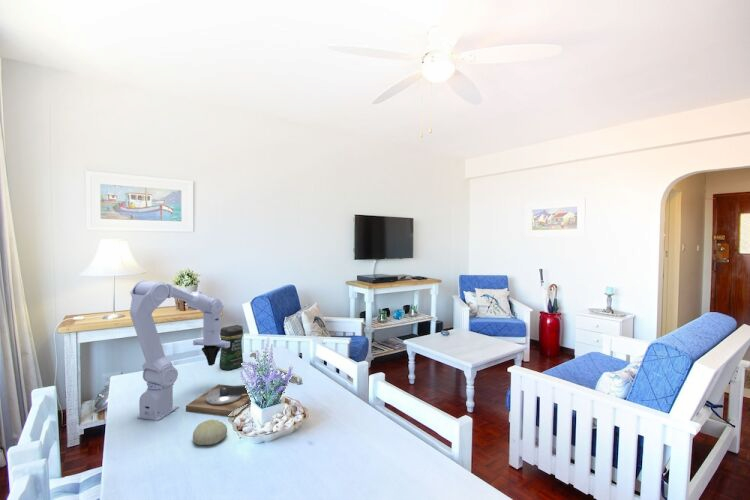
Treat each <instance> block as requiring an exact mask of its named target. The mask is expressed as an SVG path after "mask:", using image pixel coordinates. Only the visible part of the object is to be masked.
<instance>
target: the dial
mask: <svg viewBox="0 0 750 500" xmlns="http://www.w3.org/2000/svg"><path fill="white" fill-rule="evenodd" d="M245 385H246V384H244V385H243V384H241V385H230V386H222V387H220V389H217V390H214V391H212V392H210V393H208V394H207V395H206V402H207V403H208V404H211V405H225V404H230V403H233V402H236V401H238V400H239V399H240V398H241V397H242V394H248V393H247V390H246V388H245Z"/></svg>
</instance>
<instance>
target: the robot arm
mask: <svg viewBox="0 0 750 500" xmlns="http://www.w3.org/2000/svg"><path fill="white" fill-rule="evenodd" d="M129 293H130V296H131V303H130V309H129V316H130V318H131V321H132V324H133V327H134V330H135V333H136V335H137V336H136V337H137V339H138V342H139V344H140V345H139V346H140V348H141V351H142V354H143V357H144V359H145V362H144V363H143V364H142V371H143V372H142V379H143V381H144V382H146V386H147V388H146V390H145V392H143V393H142V394H141V395H140V397H139V408H138V409H139V414H138V415H137V419H144V420H152V421H159V420H161V419H163V418H164V417H166V416H167V415H170V413H172V412H174V411H176V410H177V409H178V408H180V406H179V405H176V404H175V405H174V404H173V403H174V402H173V401H174V400H173V398H174V394H173V393H174V391H173V388H174V385H175V382H176V381H177V379H178V375H179V374H178V369H177V368H176V367H175V366H174V365H173V363H172V362H171V360H170V359H168V357H167V356H166V355H165V351H164V349H163V344H162V343H161V340H160V336H159V333H158V330H157V327H156V323H155V320H154V317H153V315H152V314H153V312H154V311H155V310H156V309H158V307H159V306H161V305H162V304H163V303H164V302H165V301H166V300H167V299H170V298H174V299H176V300H179V301H184V302H185V303H186V306H188V307H189V308H192V309H194V310H195V309H196V310H199V311H200V312H201V313H202V315H203V321H202V324H203V326H202V327H203V328H202V329H203V331H202V332H203V333H202V334H203V337H202V338H201V339H198V338H195V339H194V340H192V346H203V347H202V348H201V351H202V353H203V354H204V356H205V358H206V360H207V362H206V363H207V366H211V367H212V366H213V365H215V364H216V360H217V356H218V353H219V352H220V351H221V347H225V348H228V347H230V342H228V341H224V340H221V338H220V331H221V328H220V326H221V325H220V324H221V323H220V322H221V317H222V312H223V309H224V305H223V303H222V301H221V300H220V299H217V298H212V296H211V295H205V294H203V291H200V290H196V291H192V292H188V291H187V290H184V289H182V288H179V287H177V286H176V285H173V284H169V283H165V282H159V281H158V282H157V281H148V280H140V281H138V282H137V283H135V284H134V286H133V287H132V289H131V290H130V292H129Z"/></svg>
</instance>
